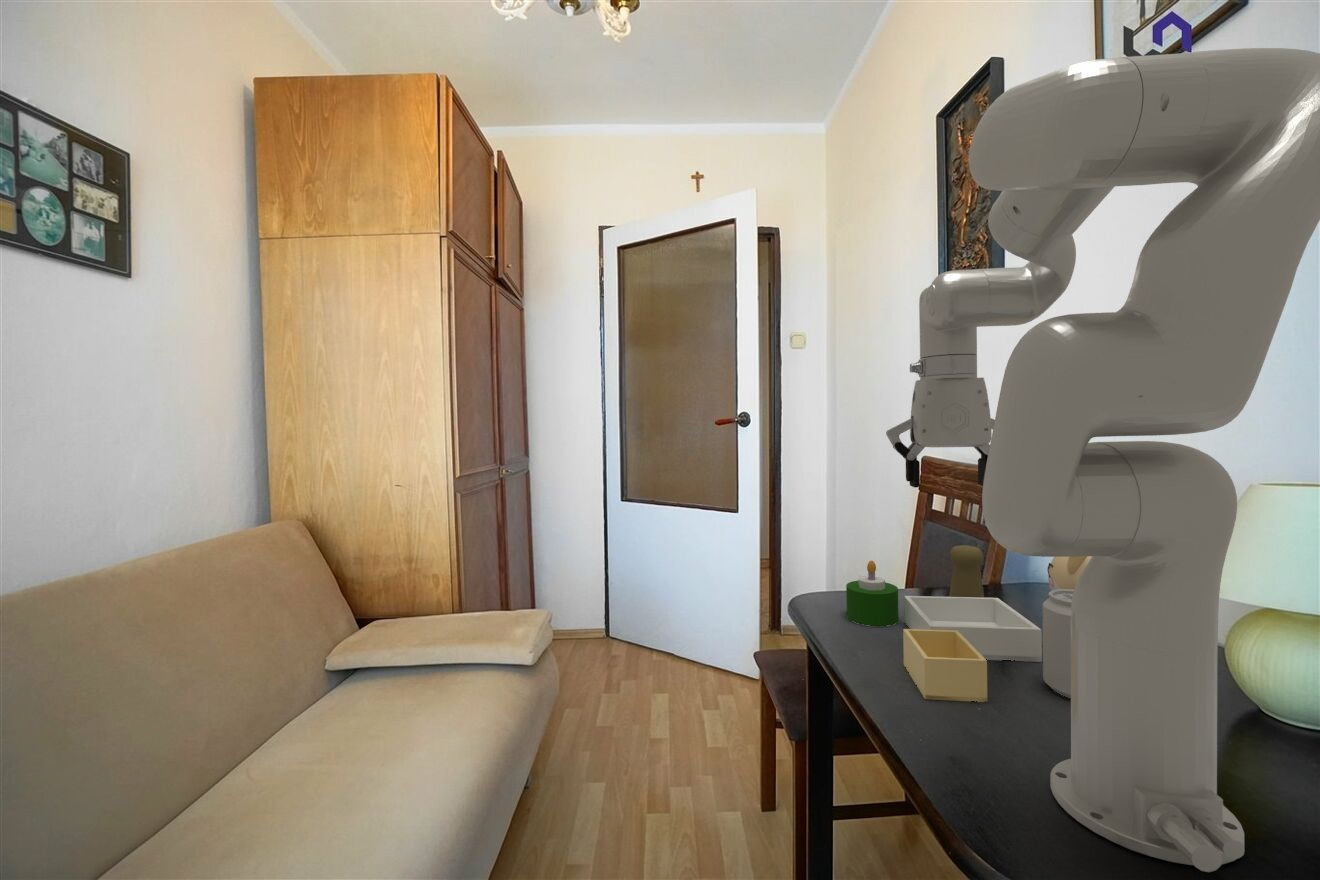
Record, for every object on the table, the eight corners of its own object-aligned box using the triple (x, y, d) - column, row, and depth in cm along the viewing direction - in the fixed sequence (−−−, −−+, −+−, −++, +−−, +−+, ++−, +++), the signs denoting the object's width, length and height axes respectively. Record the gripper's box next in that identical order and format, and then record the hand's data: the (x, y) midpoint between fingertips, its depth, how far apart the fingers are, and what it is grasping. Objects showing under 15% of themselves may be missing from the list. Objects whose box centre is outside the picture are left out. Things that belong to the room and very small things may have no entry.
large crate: (1041, 661, 80) (1041, 629, 80) (930, 657, 82) (930, 626, 82) (997, 625, 94) (997, 597, 94) (904, 622, 96) (903, 595, 96)
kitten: (1087, 612, 99) (1086, 525, 99) (1155, 631, 90) (1155, 535, 89) (1025, 625, 94) (1025, 533, 93) (1091, 647, 84) (1091, 545, 84)
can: (1132, 709, 67) (1132, 605, 66) (1060, 704, 68) (1059, 603, 68) (1097, 680, 74) (1097, 587, 74) (1032, 676, 75) (1032, 585, 75)
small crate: (987, 702, 69) (987, 660, 69) (924, 699, 70) (924, 658, 70) (957, 666, 79) (957, 630, 79) (903, 664, 80) (903, 629, 80)
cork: (987, 605, 104) (986, 544, 103) (985, 615, 99) (984, 551, 98) (949, 600, 107) (949, 541, 107) (946, 610, 102) (945, 548, 102)
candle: (837, 619, 99) (836, 561, 99) (861, 607, 104) (861, 552, 104) (883, 631, 93) (883, 569, 92) (907, 618, 98) (906, 560, 98)
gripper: (891, 370, 83) (893, 489, 83) (1023, 365, 80) (1024, 489, 80) (880, 374, 90) (882, 484, 91) (1001, 369, 87) (1002, 483, 88)
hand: (949, 486), depth 85 cm, fingers open, 9 cm apart
